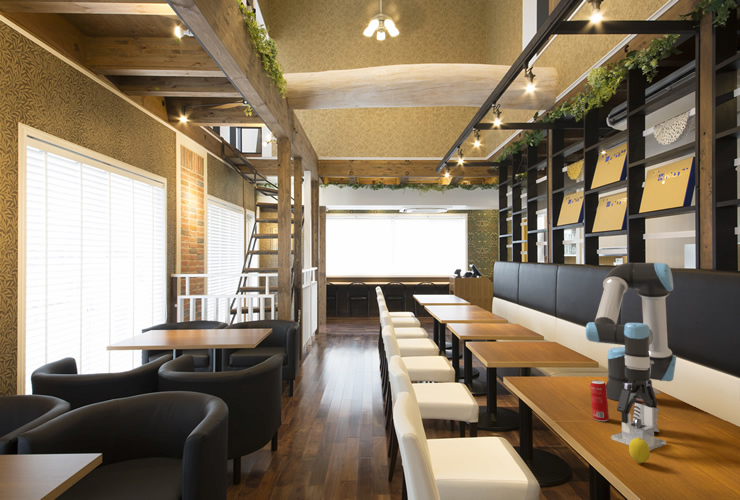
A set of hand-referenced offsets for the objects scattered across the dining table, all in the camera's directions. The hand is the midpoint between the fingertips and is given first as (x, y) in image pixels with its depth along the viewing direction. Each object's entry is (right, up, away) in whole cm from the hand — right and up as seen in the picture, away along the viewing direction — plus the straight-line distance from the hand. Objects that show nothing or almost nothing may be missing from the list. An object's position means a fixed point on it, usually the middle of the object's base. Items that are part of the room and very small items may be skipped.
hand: (637, 428), depth 154 cm
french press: (+9, -4, +10) cm, 14 cm away
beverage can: (-2, -6, +22) cm, 23 cm away
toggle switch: (0, -5, 0) cm, 5 cm away
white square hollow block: (0, -3, 0) cm, 3 cm away
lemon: (-10, -4, -17) cm, 20 cm away
